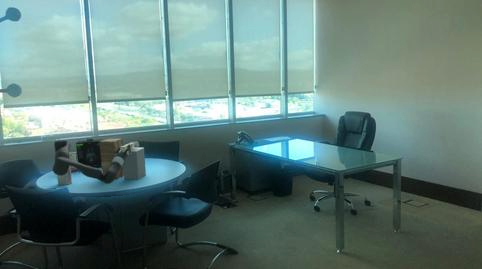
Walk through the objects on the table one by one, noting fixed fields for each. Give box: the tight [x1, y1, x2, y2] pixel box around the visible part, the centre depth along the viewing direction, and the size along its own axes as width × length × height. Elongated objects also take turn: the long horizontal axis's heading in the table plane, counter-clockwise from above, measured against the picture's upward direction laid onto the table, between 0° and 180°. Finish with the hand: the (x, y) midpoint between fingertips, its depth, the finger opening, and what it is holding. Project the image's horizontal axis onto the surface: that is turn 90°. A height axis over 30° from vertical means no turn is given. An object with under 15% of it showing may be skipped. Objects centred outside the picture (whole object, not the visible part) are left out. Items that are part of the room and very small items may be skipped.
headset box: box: [75, 138, 105, 169], centre depth 344 cm, size 22×12×26 cm, turn 101°
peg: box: [120, 141, 140, 151], centre depth 294 cm, size 22×5×4 cm, turn 170°
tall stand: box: [100, 138, 124, 180], centre depth 304 cm, size 14×12×30 cm
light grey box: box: [123, 147, 147, 180], centre depth 302 cm, size 14×12×23 cm
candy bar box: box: [69, 151, 79, 173], centre depth 329 cm, size 11×5×16 cm, turn 129°
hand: (127, 145), depth 290 cm, fingers closed on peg, 3 cm apart
